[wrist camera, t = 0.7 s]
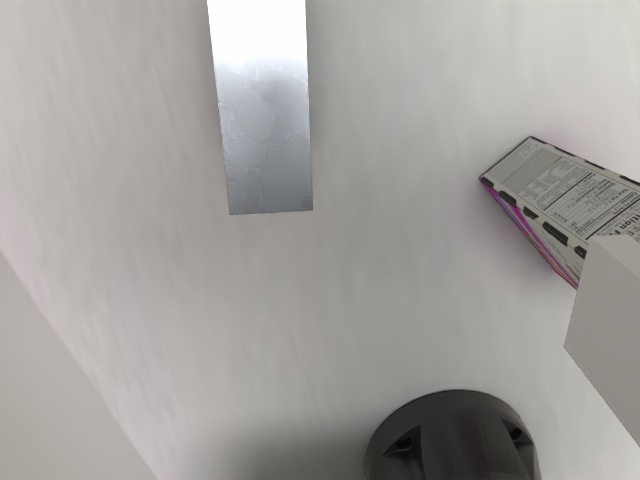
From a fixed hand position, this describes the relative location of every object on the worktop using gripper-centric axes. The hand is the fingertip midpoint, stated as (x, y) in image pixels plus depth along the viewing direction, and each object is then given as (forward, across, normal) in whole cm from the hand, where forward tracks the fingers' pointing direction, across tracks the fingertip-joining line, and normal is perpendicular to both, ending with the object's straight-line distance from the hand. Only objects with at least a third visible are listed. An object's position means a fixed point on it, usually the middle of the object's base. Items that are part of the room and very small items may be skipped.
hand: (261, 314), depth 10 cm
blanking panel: (+27, 0, 0) cm, 27 cm away
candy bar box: (+26, -20, +10) cm, 35 cm away
